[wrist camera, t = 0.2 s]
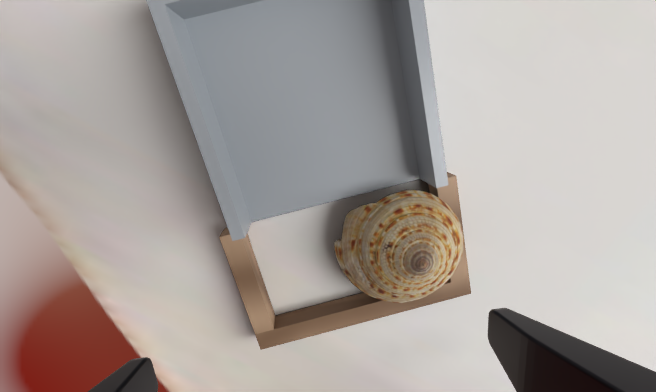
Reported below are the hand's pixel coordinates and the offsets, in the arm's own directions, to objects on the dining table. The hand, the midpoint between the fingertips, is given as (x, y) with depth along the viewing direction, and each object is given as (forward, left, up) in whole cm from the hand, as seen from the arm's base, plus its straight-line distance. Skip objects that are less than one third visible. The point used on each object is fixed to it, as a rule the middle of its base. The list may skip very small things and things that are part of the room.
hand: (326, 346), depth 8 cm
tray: (+6, -2, -15) cm, 16 cm away
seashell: (-5, -2, -15) cm, 16 cm away
